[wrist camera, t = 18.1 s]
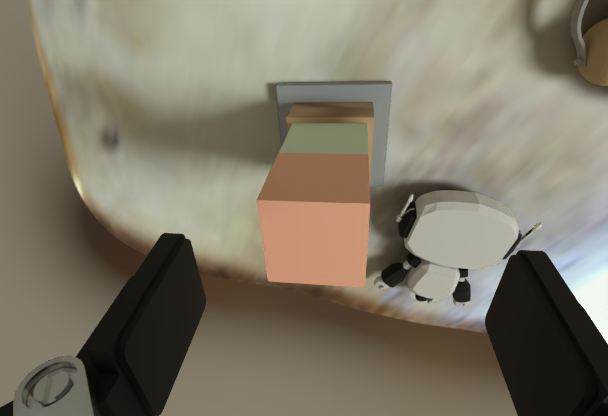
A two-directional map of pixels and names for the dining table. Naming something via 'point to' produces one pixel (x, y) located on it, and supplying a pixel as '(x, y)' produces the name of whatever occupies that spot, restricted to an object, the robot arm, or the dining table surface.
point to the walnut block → (334, 116)
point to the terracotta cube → (316, 219)
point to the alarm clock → (590, 46)
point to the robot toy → (451, 243)
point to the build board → (344, 93)
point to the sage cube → (326, 138)
